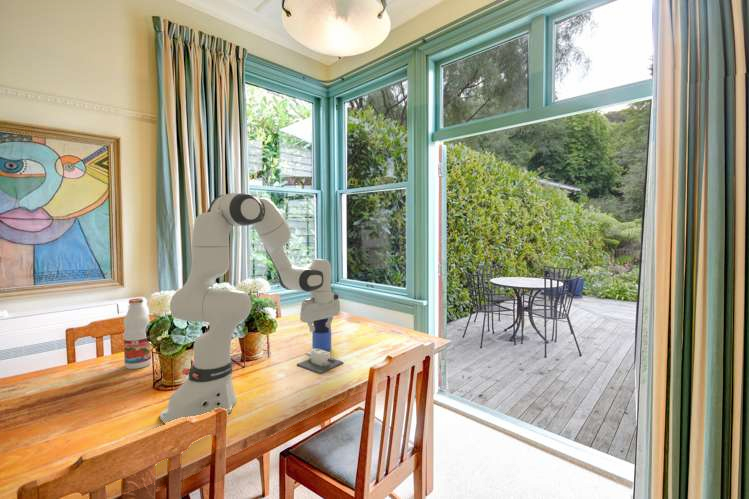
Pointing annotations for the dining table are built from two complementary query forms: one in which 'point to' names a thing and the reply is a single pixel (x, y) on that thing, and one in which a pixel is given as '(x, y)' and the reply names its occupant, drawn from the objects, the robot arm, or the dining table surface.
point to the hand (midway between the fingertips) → (320, 329)
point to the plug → (320, 357)
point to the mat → (318, 368)
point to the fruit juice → (136, 336)
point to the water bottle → (321, 335)
